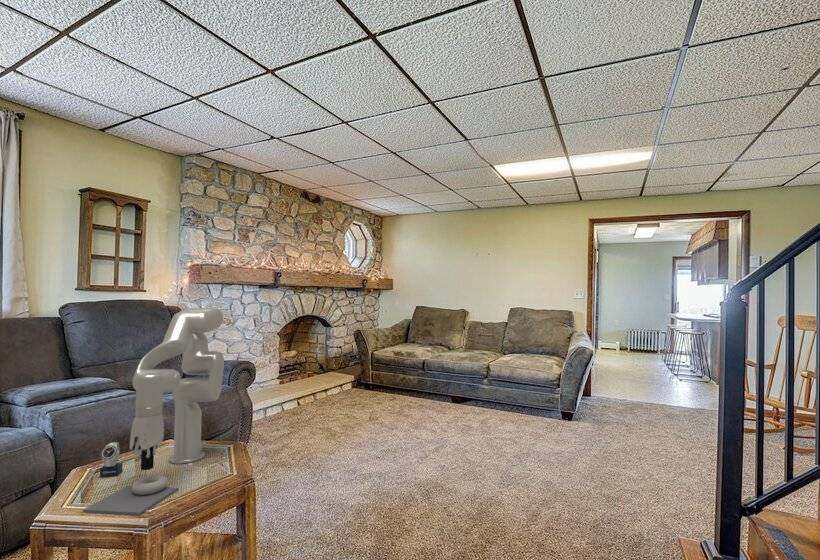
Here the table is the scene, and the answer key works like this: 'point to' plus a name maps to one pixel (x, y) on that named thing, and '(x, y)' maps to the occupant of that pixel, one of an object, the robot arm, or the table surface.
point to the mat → (129, 502)
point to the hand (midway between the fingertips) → (147, 468)
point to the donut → (149, 484)
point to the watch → (111, 461)
